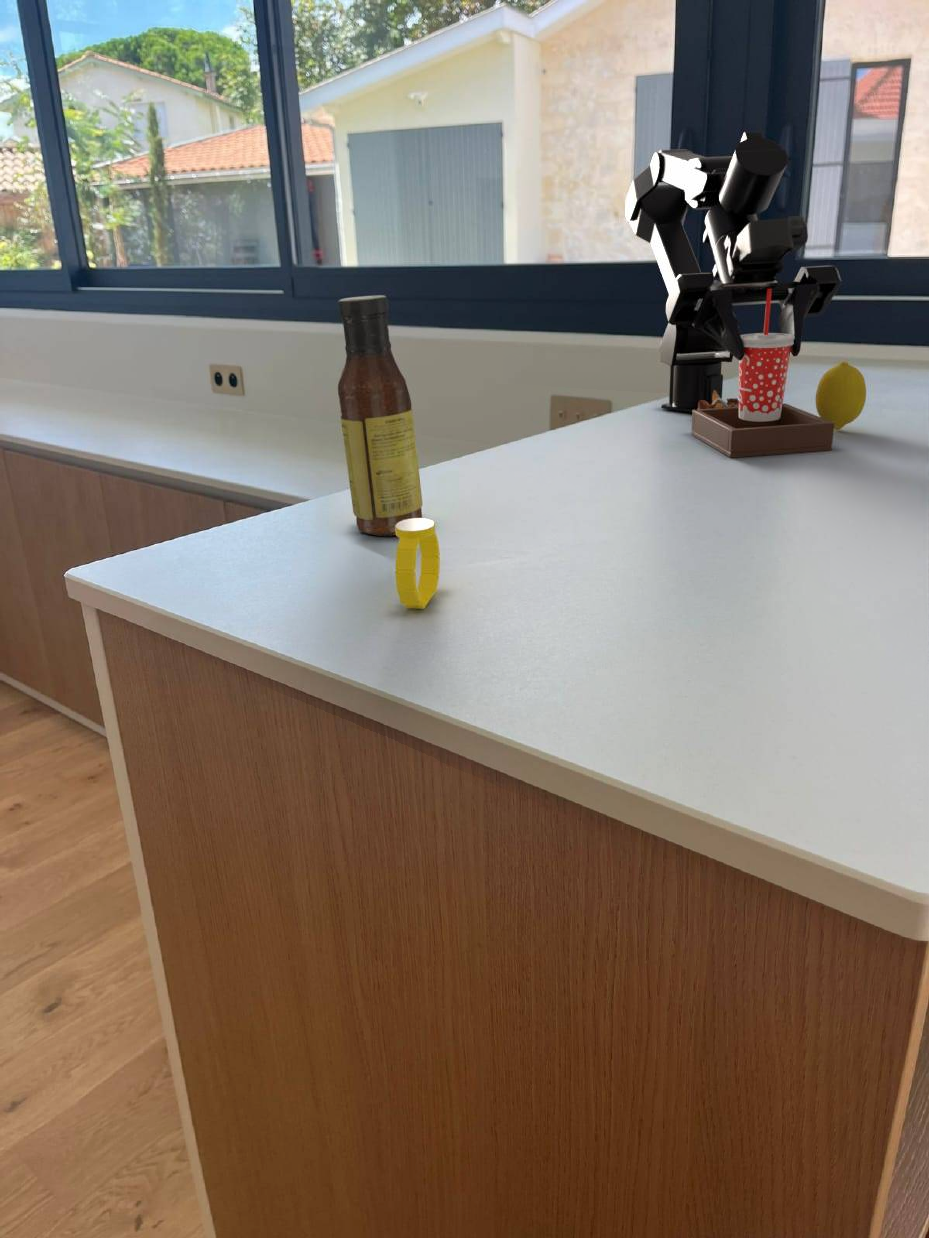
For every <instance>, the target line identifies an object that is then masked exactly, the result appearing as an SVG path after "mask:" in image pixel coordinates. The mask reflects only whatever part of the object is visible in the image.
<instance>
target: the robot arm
mask: <svg viewBox="0 0 929 1238" xmlns="http://www.w3.org/2000/svg"><path fill="white" fill-rule="evenodd" d="M788 162H789V156H788V152H787V151H786V150H785V149H783V148H782V146H781V145H780V144H778V143H777V142H775V141H773V140H771V139H769V138H765V137H764V135H763V132H762V131H761V130H760V131H744V132H743V134H742V137H741V139H740V142H739V143H738V144H737V146H736V147H735V150H734V153H733V155H726V156H725V155H724V156H703V155H701V154H698V153H693V151H692V150H688V149H687V148H681V149H680V148H679V149H676V148H675V149H661V150H659V151H658V152H654V154H653V156H652V159H651V161H650V163H649V165H648V166H647V167H645V168H644V169H643V170H642V171H641V172H640V173H638V175H637V176H635V177H634V178H633V180H632V181H631V184H630V188H629V190H628V193H627V195H626V199H625V207H624V208H625V210H624V212H625V218H626V220H627V222H629V225H630V227H631V229H632V231H633V233H634V235H635V236H636V237H638V238H639V239H641V240H643V241H645V242H647V243H649V244H650V245H651V248H652V251H653V254H654V256H655V259H656V262H657V265H658V268H659V270H660V273H661V275H662V278H663V282H664V284H665V287H666V290H667V293H668V297H667V300H666V303H665V314H666V318H667V322H668V323H667V326H666V328H665V332H664V334H663V336H662V340H661V342H660V345H659V357H660V362H661V363H662V364H665V365H667V366H669V369H670V370H669V395H668V403H663V404H660V408H661V409H662V410H663V409H664V410H669V411H676V412H677V411H678V412H684V413H690V414H692V410H697V409H698V403H699V401H700V400H704V401H706V402H708V403H709V404H712V393H713V392H714V390H715V391H716V392H717V394H718V395H719V397H720V398H721V399H722V400H723V386H724V374H722V366H723V363H732V362H733V359H734V358H735V359H736V360H737V361H739V360H742V359H743V357H744V354H745V353H744V347H743V342H742V339H741V336H740V335H741V333H740V326H739V321H738V317H737V315H736V314H735V313H734V310H733V307H734V306H749V305H750V306H751V305H766V298H767V289H772V292H771V304H779V306H780V308H781V313H780V315H779V316H778V318H777V320H776V321H777V324H778V327H779V329H780V332H781V333H782V334H790V335H793V336H795V339H794V340H793V341H794V344H793V345H791V351H790V354H791V356H792V357H798V355H799V354H800V353H801V347H802V338H803V330H804V322H805V318H806V317H818V316H820V315H822V314H823V313H825V311H826V310H827V307H828V306H829V305H830V303H831V301H832V299H833V297H834V296H835V294H836V293H837V291H838V290H839V288H840V286H841V284H842V283H843V281H842V279H841V275H840V272H839V270H838V268H837V267H836V266H835V265H830V264H829V265H815V266H814V265H813V266H801V267H800V269H799V271H798V272H797V274H796V276H795V278H794V279H793V281H784V282H778V281H777V280H776V275H780V274H781V273H782V271H783V269H784V267H785V265H784V262H783V259H784V258H785V257H786V256H787V255H788V254H789V253H792V252H793V251H799V250H801V249H802V247H804V246H805V245H806V244H807V242H808V239H809V234H808V233H809V232H808V225H807V223H806V220H805V219H804V216H803V215H795V216H794V215H793V216H786V218H771V219H758V217H757V214H760V213H763V212H765V211H766V210H767V209H768V207H769V206H770V203H771V201H772V198H773V196H774V194H775V192H776V189H777V187H778V186H779V183H780V181H781V178H782V176H783V174H784V172H785V170H786V167H787V165H788ZM659 183H664V184H659ZM690 208H692V209H693V210H708V211H707V213H706V215H705V219H704V225H705V230H704V232H703V236H702V237H703V238H702V243H703V244H704V245H705V244H710V248H711V251H712V255H713V259H714V262H715V264H714V266H713V269H712V272H702V271H701V267H700V265H699V264H698V260H697V258H696V255H695V253H694V249H693V247H692V244H691V243H690V240H689V238H688V235H687V232H686V230H685V228H684V223H685V221H686V216H687V214H688V212H689V210H690ZM714 278H715V279H714ZM716 278H719V279H716Z"/></svg>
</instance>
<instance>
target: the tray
mask: <svg viewBox="0 0 929 1238" xmlns="http://www.w3.org/2000/svg"><path fill="white" fill-rule="evenodd" d="M834 432H835V430H834V423H833V422H831V421H828V420H826V419H823V418H821V417H820V416H819V415H815V414H813V413H810V412H808V411H805V410H803V409H800V408H799V407H796V406H792V405H790V404H788V403H786V402H783V404H782V410H781V417H780V418H779V419H778V420H774V421H762V422H758V421H747V420H743V419H740V418H739V407H726V408H712V409H699V410H692V413H691V436H693V437H694V438H696V439H698V440H700V441H701V442H703V443H705V444H707V445H708V446H710V447H711V448H712V449H715V450H717V451H718V452H720V453H721V454H723V455H725V456H726V457H728V458H730V459H734V458H747V457H756V456H757V457H758V456H771V455H772V456H773V455H786V454H796V453H797V454H798V453H811V452H824V451H832V450H833V442H834V441H833V440H834Z"/></svg>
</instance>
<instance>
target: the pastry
mask: <svg viewBox="0 0 929 1238" xmlns="http://www.w3.org/2000/svg"><path fill="white" fill-rule="evenodd" d="M726 401H727V402H726ZM726 401H725V400H724V399H723V398H722V399H721V398H720V397H719V395H718V394H717V392H716V391H715V390H714V392H713V393H712V404H709V403H708V402H706V401H704V400H700V401H699V403H698V409H697V410H699V409H712V408H726V407H739V398H735V397H734V398H726Z"/></svg>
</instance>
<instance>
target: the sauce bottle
mask: <svg viewBox="0 0 929 1238" xmlns="http://www.w3.org/2000/svg"><path fill="white" fill-rule="evenodd" d="M337 302H338V303H337V304H338V315H339V317H340V319H341V321H342V326H343V334H344V341H345V347H344V350H345V354H346V357H345V363H344V367H343V369H342V370H341V373H340V374H341V375H340V378H339V380H338V383H337V395H338V399H339V407H340V413H341V415H340V424H341V430H342V431H341V432H342V436H343V445H344V453H345V459H346V460H345V461H346V468H347V475H348V481H349V482H348V483H349V490H350V491H349V492H350V498H351V506H352V513H353V515H354V516H355V517H356V518H355V520H356V521H355V522H356V525H357V529H358V530H359V531H360V533H362V534H368V535H374V536H377V537H382V536H385V537H387V536H396V534H395V525H396V524H397V523H398V522H400V521H403V520H406V519H412V518H423V513H422V507H423V495H422V487H421V486H422V485H421V477H420V468H419V460H418V449H417V441H416V440H417V439H416V431H415V423H414V413H413V406H412V405H413V404H412V399H411V395H410V391H409V389H408V388H409V387H408V386H407V385H408V384H407V381H406V378H405V377H404V376H403V374H402V372H401V370H400V368H399V366H398V364H397V362H396V360H395V359H396V358H395V357H394V354H393V351H392V343H391V340H390V331H389V324H388V315H389V311H390V310H389V304H388V298H387V296H386V295H363V296H353V297H352V296H351V297H344V298H341V299H339V300H338V301H337Z"/></svg>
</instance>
